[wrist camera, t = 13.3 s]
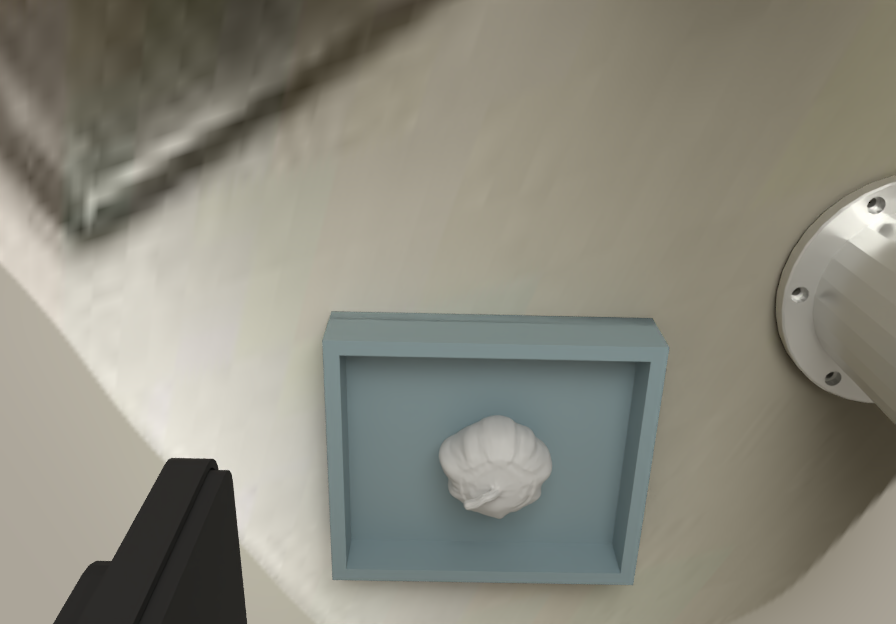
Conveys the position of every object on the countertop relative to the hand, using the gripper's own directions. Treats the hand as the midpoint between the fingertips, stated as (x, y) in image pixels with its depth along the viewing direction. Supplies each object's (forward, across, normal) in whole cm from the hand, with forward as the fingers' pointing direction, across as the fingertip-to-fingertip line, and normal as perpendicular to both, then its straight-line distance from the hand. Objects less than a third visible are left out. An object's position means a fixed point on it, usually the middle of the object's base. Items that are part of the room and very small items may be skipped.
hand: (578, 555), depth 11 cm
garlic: (+30, -1, +17) cm, 34 cm away
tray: (+30, -1, +18) cm, 35 cm away
